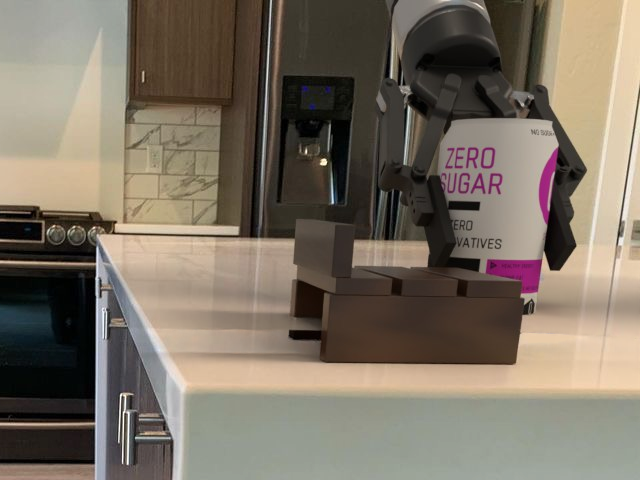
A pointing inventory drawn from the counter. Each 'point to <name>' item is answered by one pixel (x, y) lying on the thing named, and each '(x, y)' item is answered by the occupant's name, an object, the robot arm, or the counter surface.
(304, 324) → the counter surface
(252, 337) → the counter surface
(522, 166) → the supplement can
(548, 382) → the counter surface
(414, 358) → the rack
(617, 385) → the counter surface
